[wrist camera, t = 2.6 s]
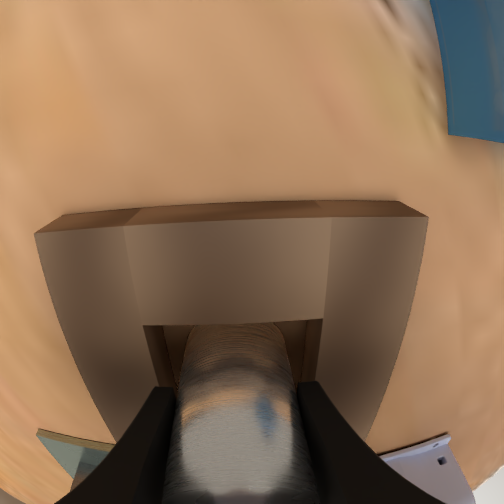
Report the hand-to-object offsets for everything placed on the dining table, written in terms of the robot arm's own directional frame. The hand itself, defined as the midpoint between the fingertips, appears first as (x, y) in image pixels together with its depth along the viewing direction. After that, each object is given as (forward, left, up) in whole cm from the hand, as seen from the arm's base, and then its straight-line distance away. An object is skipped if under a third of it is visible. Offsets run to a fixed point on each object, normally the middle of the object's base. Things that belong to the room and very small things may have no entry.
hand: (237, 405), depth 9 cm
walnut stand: (0, 0, -3) cm, 3 cm away
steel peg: (0, 0, -3) cm, 3 cm away
